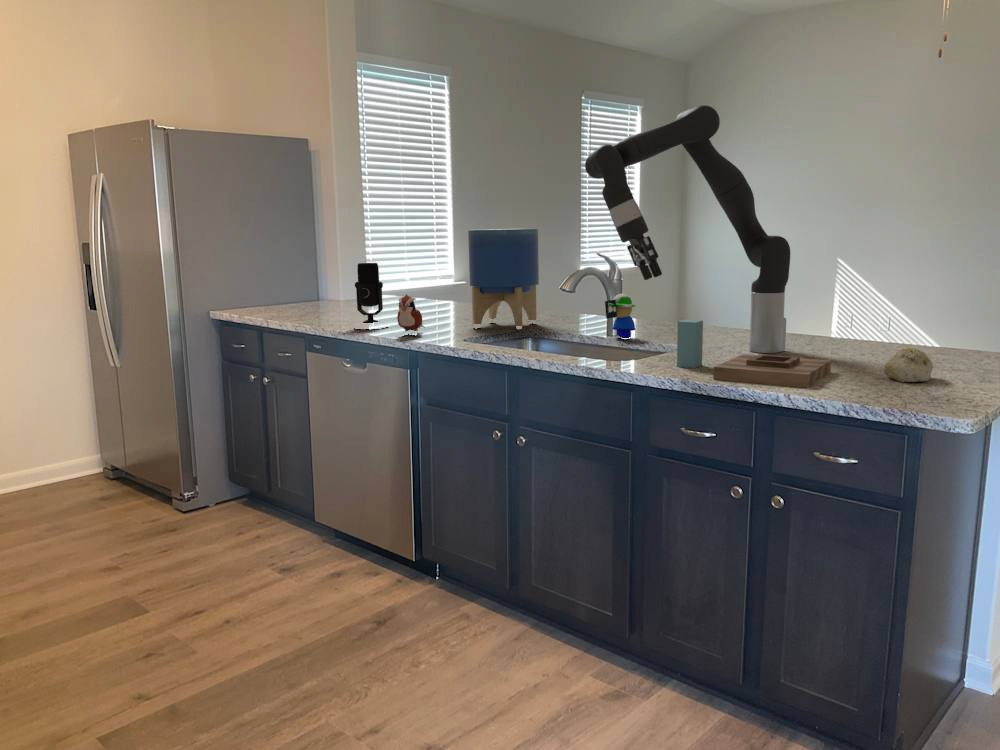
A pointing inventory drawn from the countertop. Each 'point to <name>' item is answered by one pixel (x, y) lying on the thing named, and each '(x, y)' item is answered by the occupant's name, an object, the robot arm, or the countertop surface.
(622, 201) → the robot arm
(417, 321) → the toy
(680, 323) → the pillar
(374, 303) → the microphone
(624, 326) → the toy
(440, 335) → the countertop surface
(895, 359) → the decorative item
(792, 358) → the plinth
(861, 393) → the countertop surface
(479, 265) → the planter
